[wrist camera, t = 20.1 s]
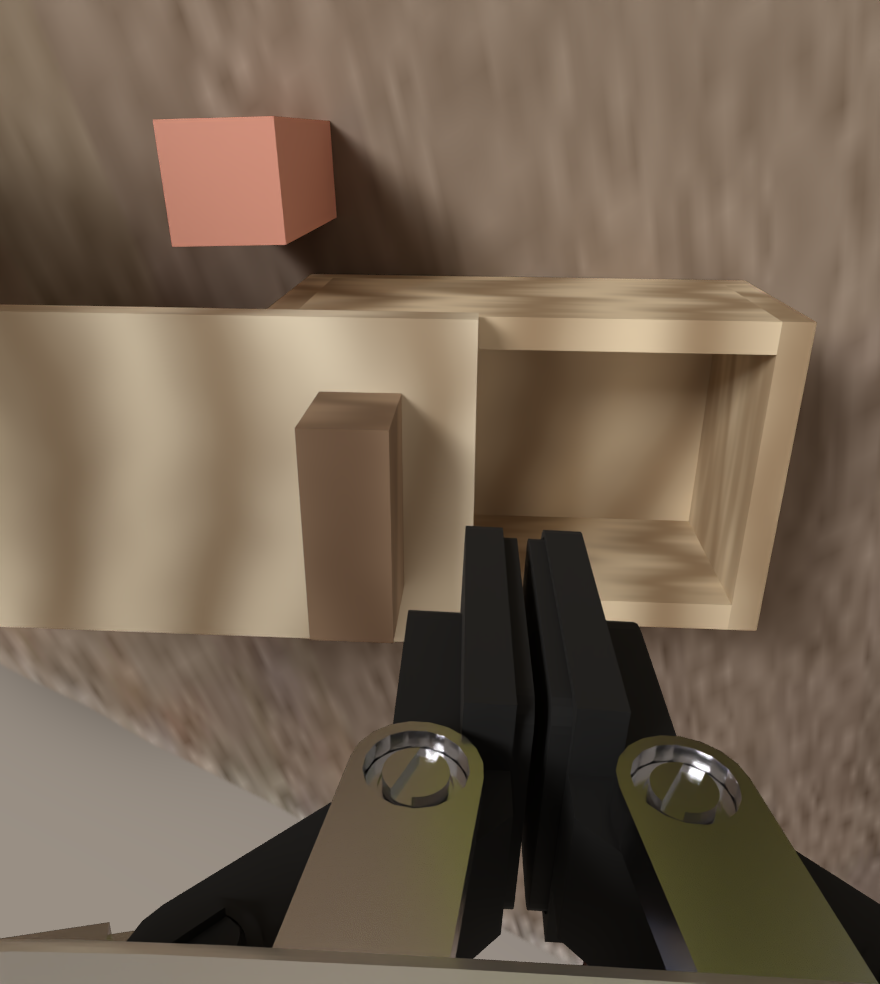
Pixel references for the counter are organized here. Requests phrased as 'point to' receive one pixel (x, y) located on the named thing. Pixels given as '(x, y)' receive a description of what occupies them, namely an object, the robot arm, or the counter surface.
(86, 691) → the counter surface
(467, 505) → the lid
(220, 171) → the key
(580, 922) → the robot arm
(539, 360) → the wooden box
